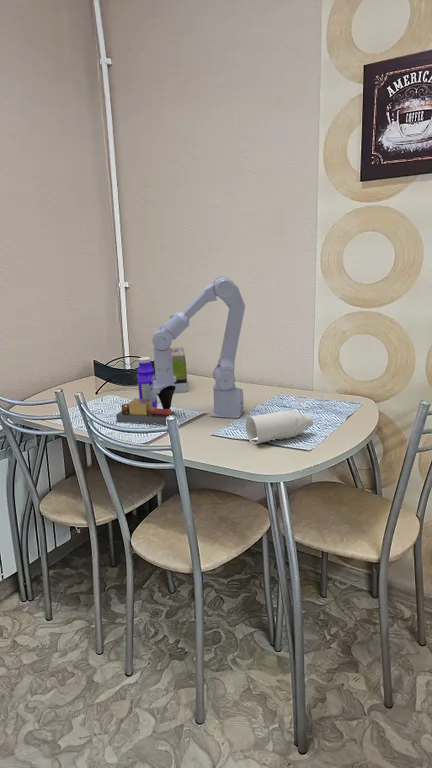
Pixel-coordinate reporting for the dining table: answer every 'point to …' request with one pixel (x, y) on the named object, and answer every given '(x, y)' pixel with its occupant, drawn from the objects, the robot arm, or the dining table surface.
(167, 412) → the lever
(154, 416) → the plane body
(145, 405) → the tan rectangular block
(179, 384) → the tea box
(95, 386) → the dining table surface
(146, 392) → the bottle
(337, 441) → the dining table surface
